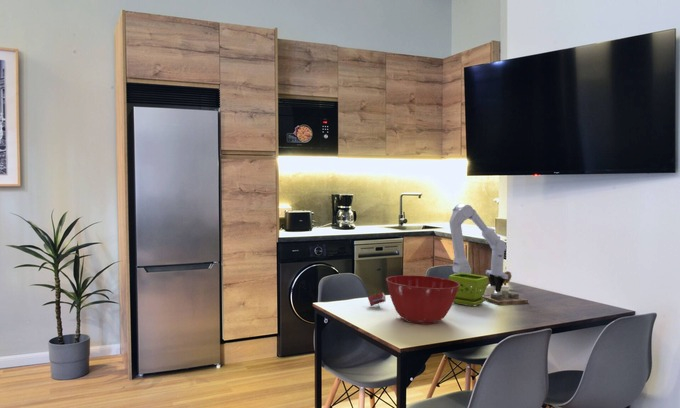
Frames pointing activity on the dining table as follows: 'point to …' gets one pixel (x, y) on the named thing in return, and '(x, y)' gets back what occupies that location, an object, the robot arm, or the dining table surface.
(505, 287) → the cream bar
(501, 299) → the brown rectangular board
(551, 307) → the dining table surface
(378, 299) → the geometric puzzle
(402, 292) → the mixing bowl
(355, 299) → the dining table surface
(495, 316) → the dining table surface
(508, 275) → the lion figurine
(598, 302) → the dining table surface
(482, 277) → the flower pot
